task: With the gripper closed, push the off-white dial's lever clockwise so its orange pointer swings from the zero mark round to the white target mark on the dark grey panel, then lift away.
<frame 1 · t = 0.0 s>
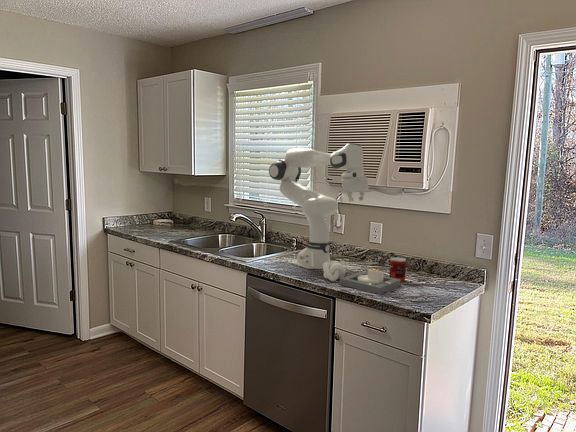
hand: (356, 200, 233), 39 cm above the worktop, tool pointing down, fingers open, 8 cm apart
dial: (370, 275, 215), point 5 cm above the worktop, hinge at 0.0°
panel: (369, 285, 216), on the worktop
canned food: (396, 280, 226), on the worktop
white decorative knot: (331, 280, 225), on the worktop
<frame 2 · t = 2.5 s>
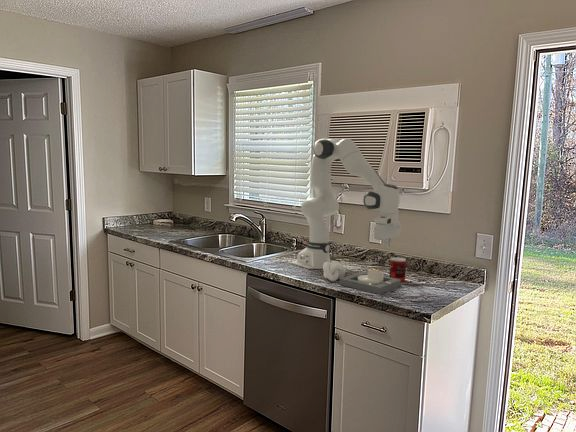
hand: (387, 247, 214), 19 cm above the worktop, tool pointing down, fingers closed
nothing on the worktop moved.
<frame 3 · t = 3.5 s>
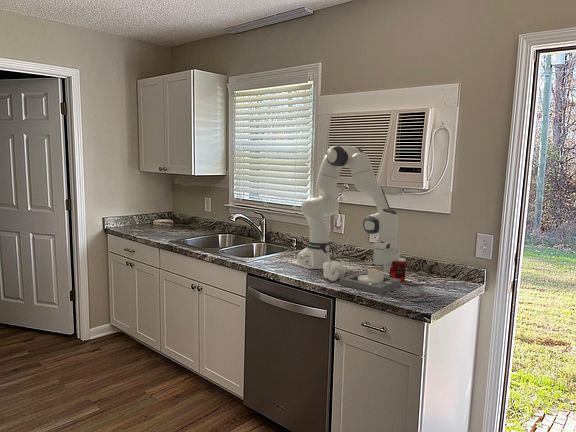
hand: (386, 271, 216), 7 cm above the worktop, tool pointing down, fingers closed
nothing on the worktop moved.
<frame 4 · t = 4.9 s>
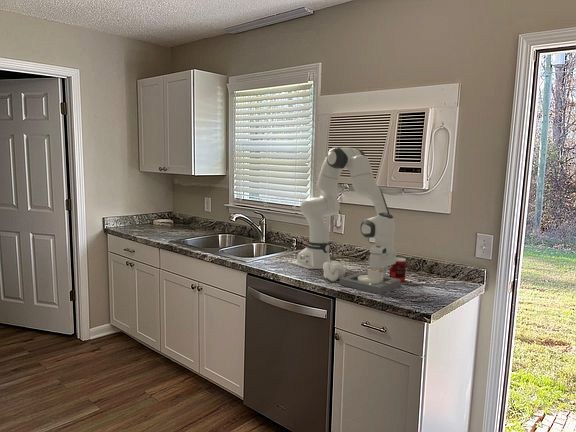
hand: (382, 275, 214), 5 cm above the worktop, tool pointing down, fingers closed
dial: (370, 275, 215), point 5 cm above the worktop, hinge at -2.2°, touching gripper
everything else where it was.
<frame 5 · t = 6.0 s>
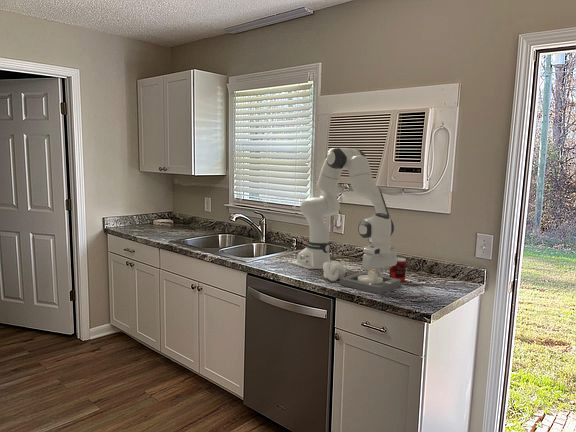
hand: (379, 277, 211), 5 cm above the worktop, tool pointing down, fingers closed
dial: (370, 275, 215), point 5 cm above the worktop, hinge at -37.8°, touching gripper
everything else where it was.
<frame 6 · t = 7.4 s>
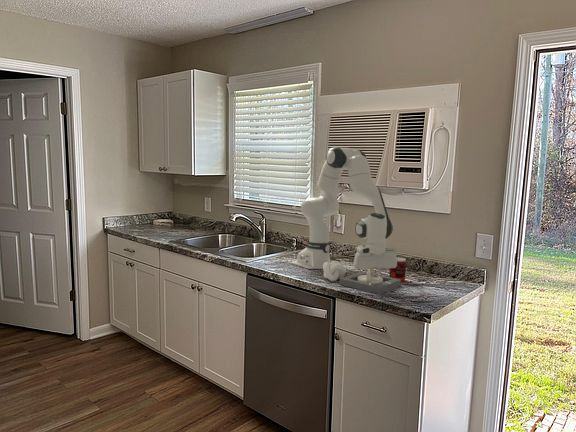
hand: (374, 277, 210), 5 cm above the worktop, tool pointing down, fingers closed
dial: (370, 275, 215), point 5 cm above the worktop, hinge at -68.2°, touching gripper
everything else where it was.
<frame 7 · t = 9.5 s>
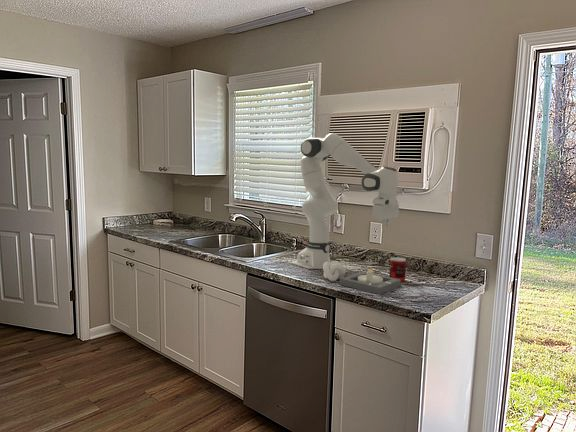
hand: (385, 227, 223), 27 cm above the worktop, tool pointing down, fingers closed
dial: (370, 275, 215), point 5 cm above the worktop, hinge at -68.2°
everything else where it was.
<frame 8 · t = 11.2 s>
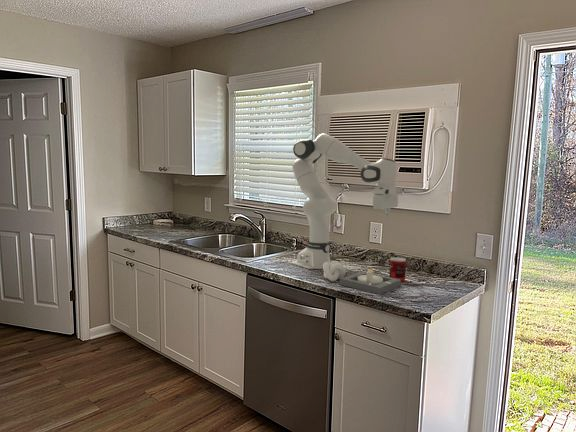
hand: (385, 216, 231), 31 cm above the worktop, tool pointing down, fingers closed
nothing on the worktop moved.
at the end: dial at -68° (first picture: +0°); dial touching nothing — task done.
